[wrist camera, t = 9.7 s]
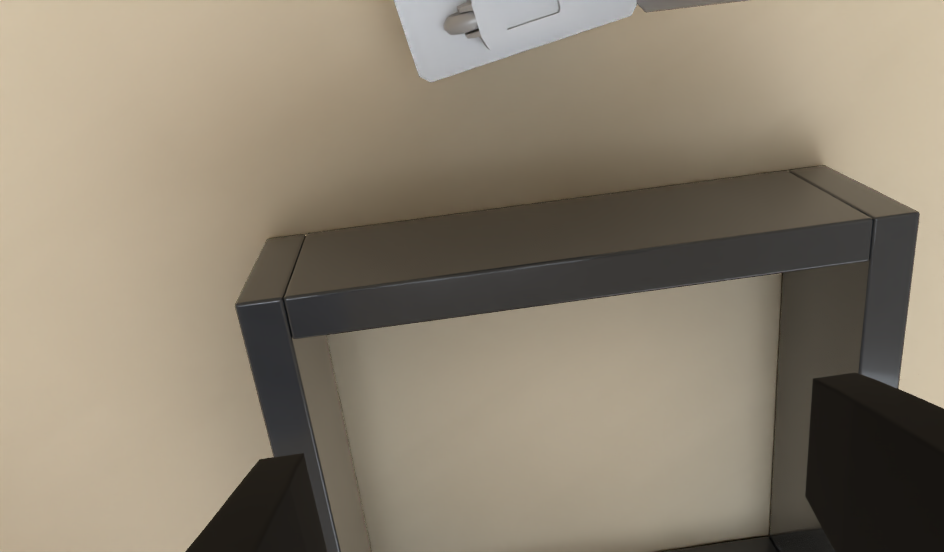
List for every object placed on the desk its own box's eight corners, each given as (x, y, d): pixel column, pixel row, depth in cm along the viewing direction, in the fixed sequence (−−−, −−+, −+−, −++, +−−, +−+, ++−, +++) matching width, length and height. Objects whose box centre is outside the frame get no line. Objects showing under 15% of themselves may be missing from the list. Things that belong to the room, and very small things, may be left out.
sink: (362, 656, 25) (347, 902, 19) (266, 237, 19) (195, 380, 13) (795, 592, 25) (928, 809, 19) (825, 164, 20) (1030, 266, 13)
